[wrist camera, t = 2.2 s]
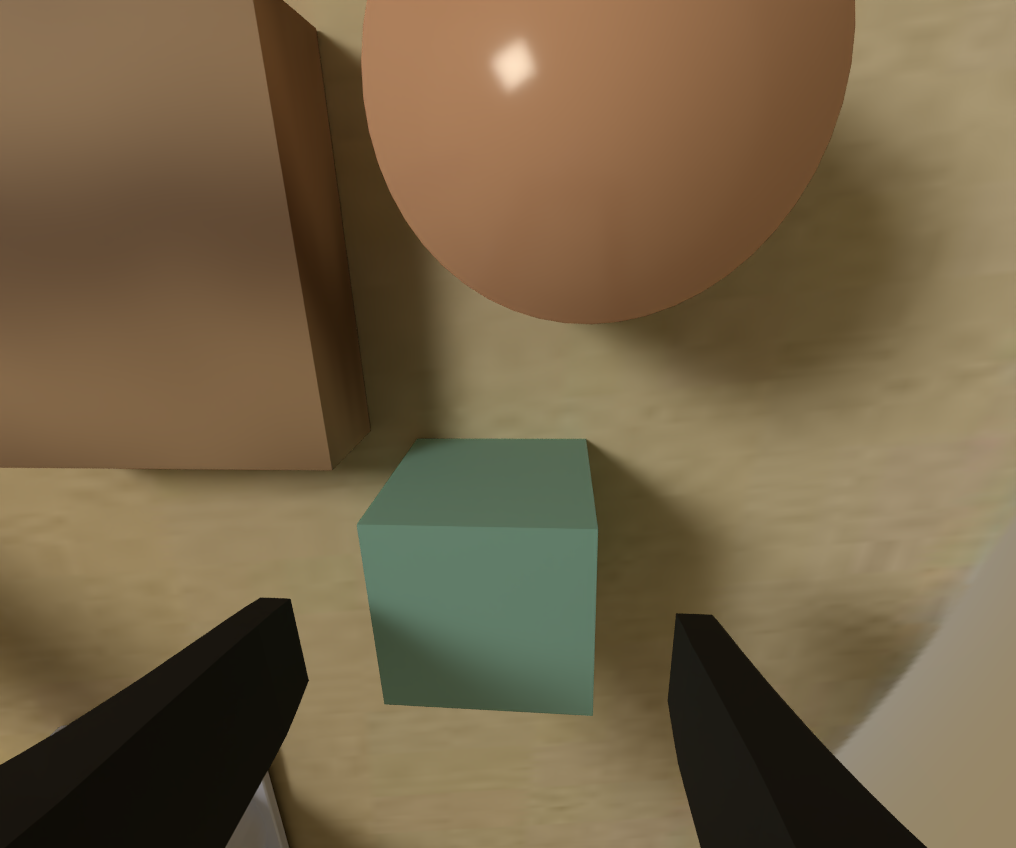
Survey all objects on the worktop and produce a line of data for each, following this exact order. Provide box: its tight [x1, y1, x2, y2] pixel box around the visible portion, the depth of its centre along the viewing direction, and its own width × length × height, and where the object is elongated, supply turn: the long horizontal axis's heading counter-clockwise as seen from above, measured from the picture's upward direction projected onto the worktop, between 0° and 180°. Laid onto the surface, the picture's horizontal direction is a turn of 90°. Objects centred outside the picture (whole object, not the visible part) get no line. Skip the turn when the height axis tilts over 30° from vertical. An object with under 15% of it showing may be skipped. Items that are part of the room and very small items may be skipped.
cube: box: [357, 439, 598, 716], centre depth 12 cm, size 4×4×4 cm
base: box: [0, 0, 371, 470], centre depth 12 cm, size 9×9×2 cm
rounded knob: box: [361, 0, 855, 324], centre depth 9 cm, size 6×6×5 cm
